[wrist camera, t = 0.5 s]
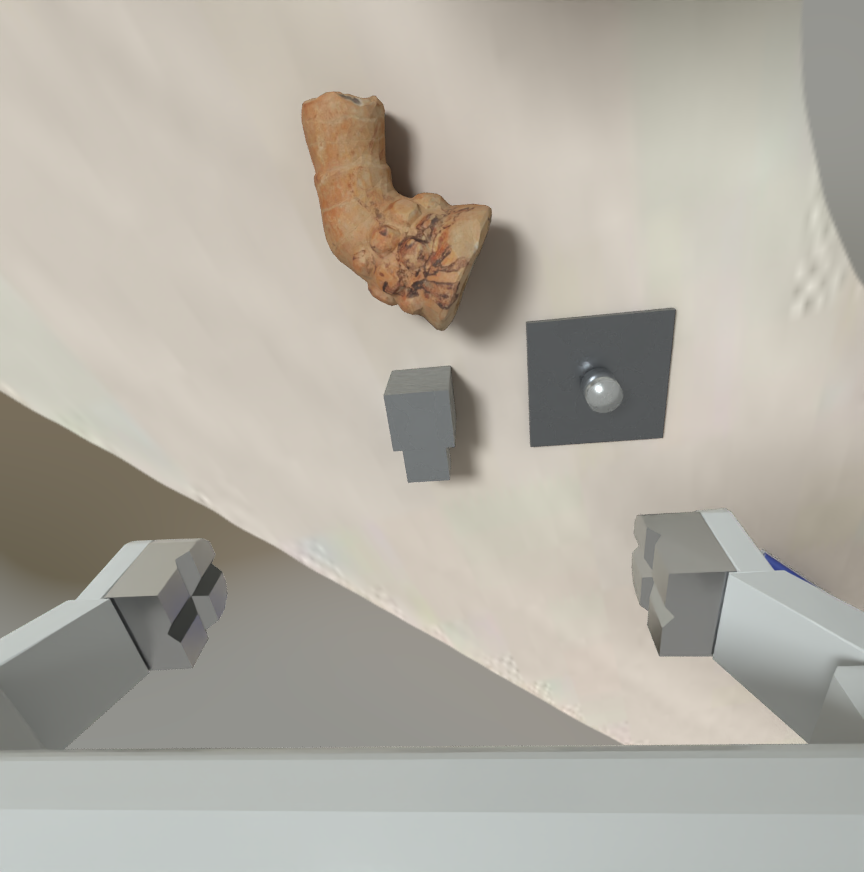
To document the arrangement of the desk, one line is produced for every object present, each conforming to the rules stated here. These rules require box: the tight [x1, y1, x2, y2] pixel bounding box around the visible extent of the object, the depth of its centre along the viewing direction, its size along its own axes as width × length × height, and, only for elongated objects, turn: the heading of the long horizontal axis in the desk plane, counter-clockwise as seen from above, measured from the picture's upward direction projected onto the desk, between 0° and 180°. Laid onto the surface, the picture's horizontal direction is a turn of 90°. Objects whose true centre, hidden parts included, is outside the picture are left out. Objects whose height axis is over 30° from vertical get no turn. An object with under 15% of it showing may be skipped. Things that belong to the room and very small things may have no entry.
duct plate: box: [526, 308, 676, 447], centre depth 53 cm, size 14×14×4 cm
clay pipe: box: [302, 92, 492, 331], centre depth 45 cm, size 19×11×15 cm
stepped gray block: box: [384, 366, 456, 483], centre depth 55 cm, size 10×6×6 cm, turn 7°
